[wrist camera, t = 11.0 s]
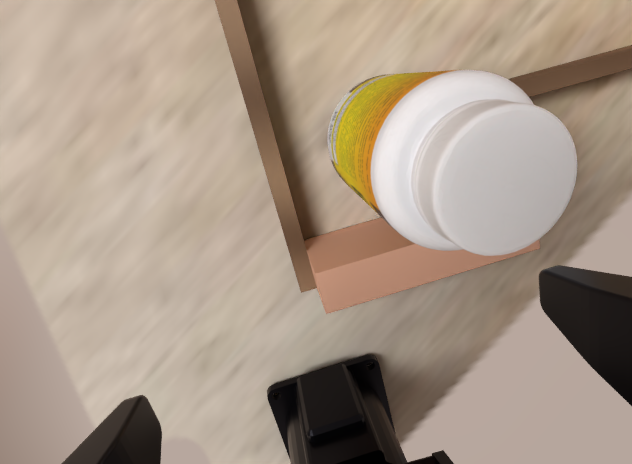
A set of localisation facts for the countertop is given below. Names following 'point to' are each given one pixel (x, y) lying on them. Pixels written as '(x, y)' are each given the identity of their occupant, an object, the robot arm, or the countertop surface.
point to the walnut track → (268, 145)
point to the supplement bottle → (454, 159)
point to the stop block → (381, 263)
